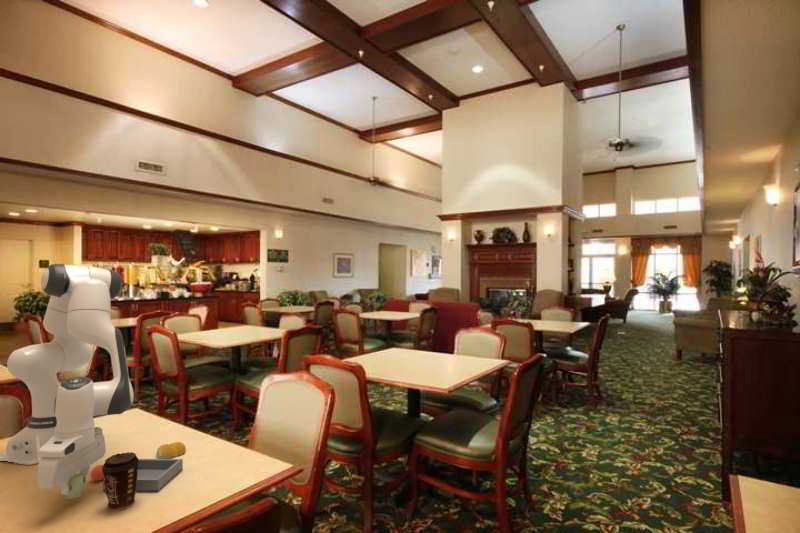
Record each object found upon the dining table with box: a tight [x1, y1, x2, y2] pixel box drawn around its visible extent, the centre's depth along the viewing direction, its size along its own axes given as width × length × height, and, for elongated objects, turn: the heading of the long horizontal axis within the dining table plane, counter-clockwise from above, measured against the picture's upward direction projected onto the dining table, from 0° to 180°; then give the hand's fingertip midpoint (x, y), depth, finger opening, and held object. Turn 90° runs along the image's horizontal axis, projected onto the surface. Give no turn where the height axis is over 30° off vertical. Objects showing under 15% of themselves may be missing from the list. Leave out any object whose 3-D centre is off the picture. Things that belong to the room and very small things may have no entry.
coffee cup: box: [102, 451, 140, 512], centre depth 120 cm, size 9×8×13 cm
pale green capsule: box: [64, 472, 84, 500], centre depth 120 cm, size 4×4×5 cm
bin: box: [102, 458, 184, 493], centre depth 133 cm, size 16×14×4 cm
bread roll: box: [155, 441, 187, 459], centre depth 153 cm, size 8×9×4 cm
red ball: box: [90, 464, 105, 482], centre depth 134 cm, size 4×4×4 cm
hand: (74, 488), depth 120 cm, fingers closed on pale green capsule, 4 cm apart
